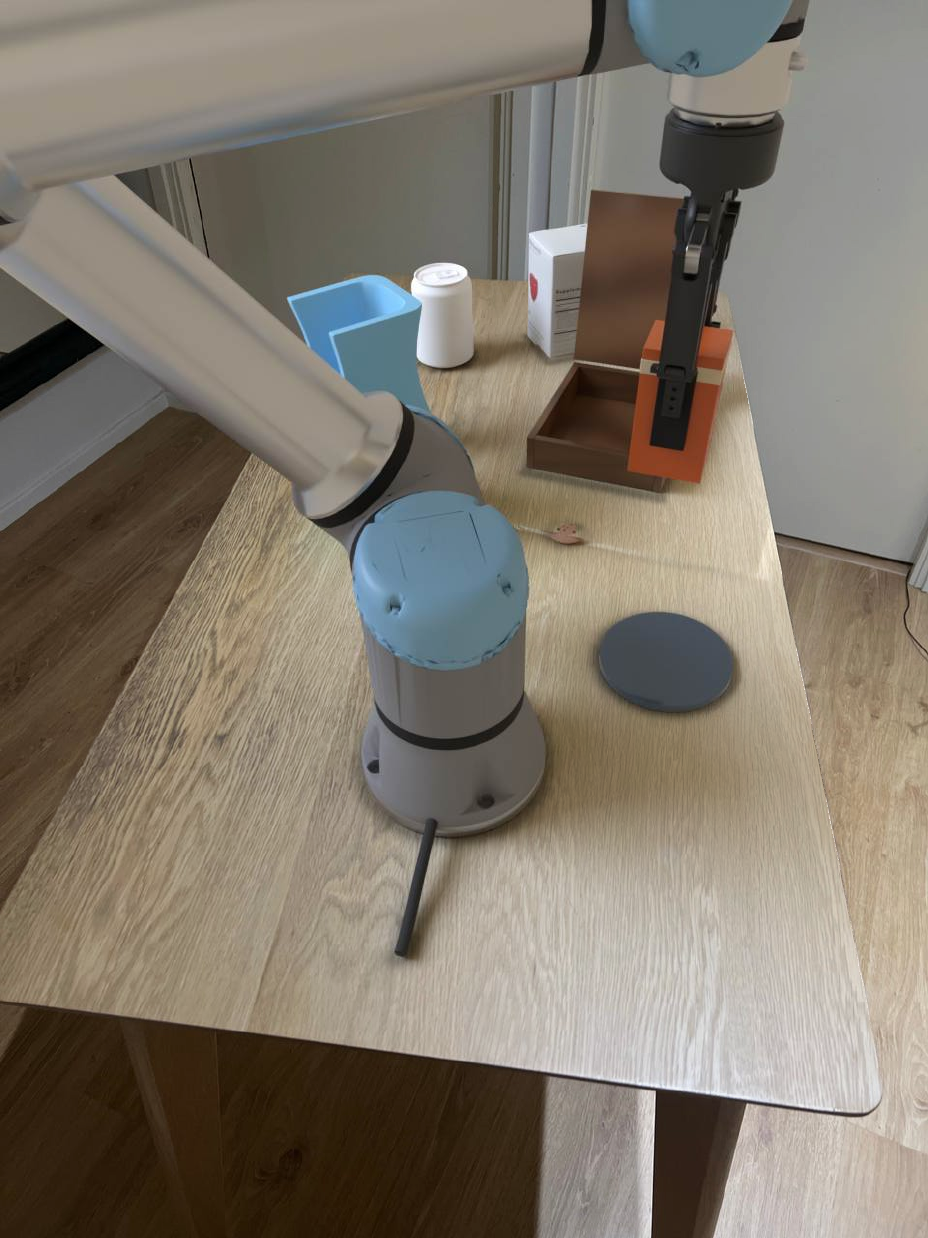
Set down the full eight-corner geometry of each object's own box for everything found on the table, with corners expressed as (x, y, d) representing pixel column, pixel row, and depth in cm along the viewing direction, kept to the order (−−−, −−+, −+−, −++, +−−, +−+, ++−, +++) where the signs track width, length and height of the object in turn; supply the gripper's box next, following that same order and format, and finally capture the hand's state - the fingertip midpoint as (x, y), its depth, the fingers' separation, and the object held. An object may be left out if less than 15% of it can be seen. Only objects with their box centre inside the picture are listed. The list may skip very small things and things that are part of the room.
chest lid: (730, 203, 97) (737, 196, 101) (590, 189, 102) (602, 183, 106) (698, 378, 108) (705, 365, 112) (573, 359, 113) (584, 347, 117)
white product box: (525, 335, 129) (526, 230, 119) (582, 325, 131) (588, 221, 121) (548, 364, 123) (551, 255, 113) (607, 352, 125) (616, 245, 114)
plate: (718, 727, 76) (720, 721, 75) (583, 691, 79) (583, 685, 79) (741, 634, 84) (743, 628, 83) (617, 605, 87) (618, 599, 87)
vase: (324, 512, 100) (285, 297, 83) (400, 483, 104) (378, 270, 86) (364, 558, 94) (332, 336, 77) (444, 525, 97) (429, 306, 80)
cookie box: (700, 484, 72) (725, 359, 65) (626, 471, 74) (642, 347, 66) (709, 451, 76) (734, 329, 68) (638, 439, 77) (655, 319, 70)
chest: (659, 499, 100) (664, 462, 96) (526, 473, 104) (526, 437, 101) (692, 415, 112) (698, 380, 109) (572, 395, 117) (574, 361, 113)
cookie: (552, 520, 97) (553, 513, 97) (589, 527, 96) (589, 519, 96) (543, 541, 95) (543, 534, 94) (580, 548, 94) (581, 541, 93)
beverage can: (408, 351, 127) (400, 268, 119) (459, 339, 129) (455, 256, 121) (430, 376, 122) (424, 291, 113) (483, 362, 124) (481, 278, 116)
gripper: (772, 156, 50) (702, 497, 66) (797, 79, 62) (734, 382, 78) (639, 145, 52) (603, 479, 68) (689, 72, 64) (649, 369, 80)
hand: (673, 426), depth 73 cm, fingers closed on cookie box, 5 cm apart
